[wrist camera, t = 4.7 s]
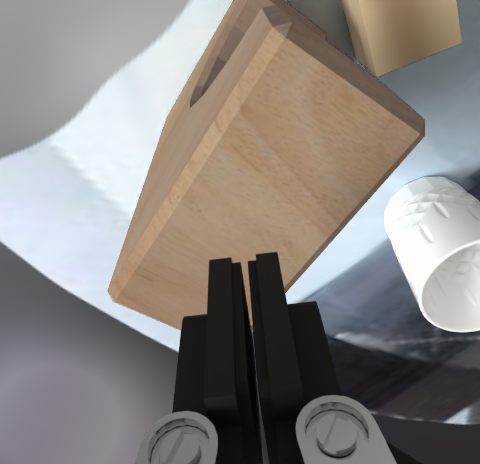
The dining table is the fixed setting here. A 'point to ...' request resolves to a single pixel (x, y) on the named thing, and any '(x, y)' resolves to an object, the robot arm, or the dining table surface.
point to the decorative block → (258, 160)
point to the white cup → (439, 249)
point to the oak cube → (400, 31)
